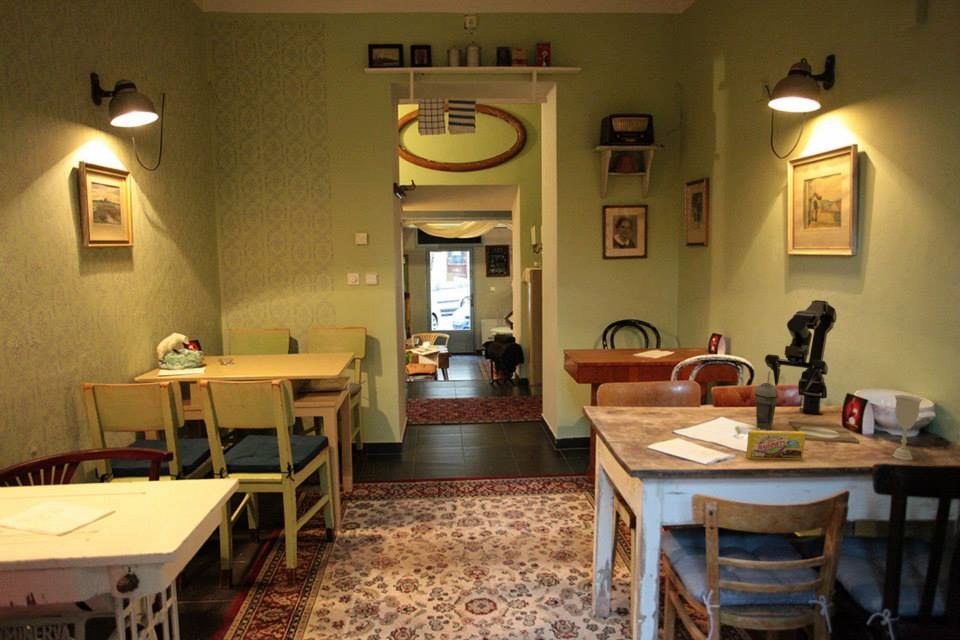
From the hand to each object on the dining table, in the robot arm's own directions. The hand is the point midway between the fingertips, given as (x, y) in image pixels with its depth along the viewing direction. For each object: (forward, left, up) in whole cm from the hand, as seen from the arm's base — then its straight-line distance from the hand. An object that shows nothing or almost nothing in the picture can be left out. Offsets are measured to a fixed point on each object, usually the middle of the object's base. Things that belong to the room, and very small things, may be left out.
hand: (790, 387), depth 217 cm
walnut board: (0, +11, -15) cm, 19 cm away
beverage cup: (-1, -7, -15) cm, 17 cm away
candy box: (+31, -11, -15) cm, 36 cm away
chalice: (+21, +27, -15) cm, 37 cm away
